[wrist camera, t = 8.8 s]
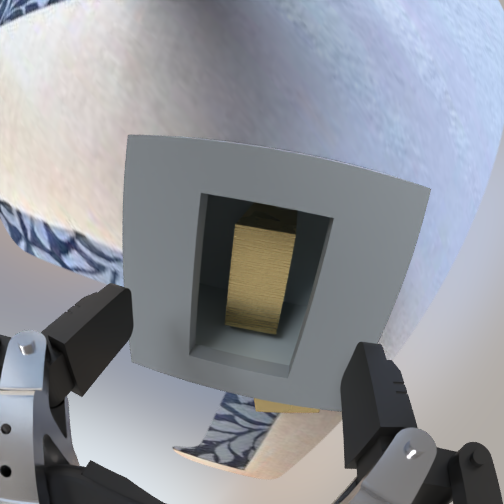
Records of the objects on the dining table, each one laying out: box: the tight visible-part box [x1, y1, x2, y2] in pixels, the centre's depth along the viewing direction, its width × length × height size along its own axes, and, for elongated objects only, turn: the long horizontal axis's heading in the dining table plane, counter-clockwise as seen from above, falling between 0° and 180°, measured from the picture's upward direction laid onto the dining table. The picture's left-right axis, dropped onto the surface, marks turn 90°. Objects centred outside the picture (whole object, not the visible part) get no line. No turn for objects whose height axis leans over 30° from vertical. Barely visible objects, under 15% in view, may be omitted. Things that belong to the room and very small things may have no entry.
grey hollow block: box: [123, 135, 431, 412], centre depth 16 cm, size 12×12×10 cm
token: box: [254, 398, 320, 413], centre depth 24 cm, size 6×6×3 cm
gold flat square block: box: [225, 203, 298, 335], centre depth 18 cm, size 6×3×6 cm
